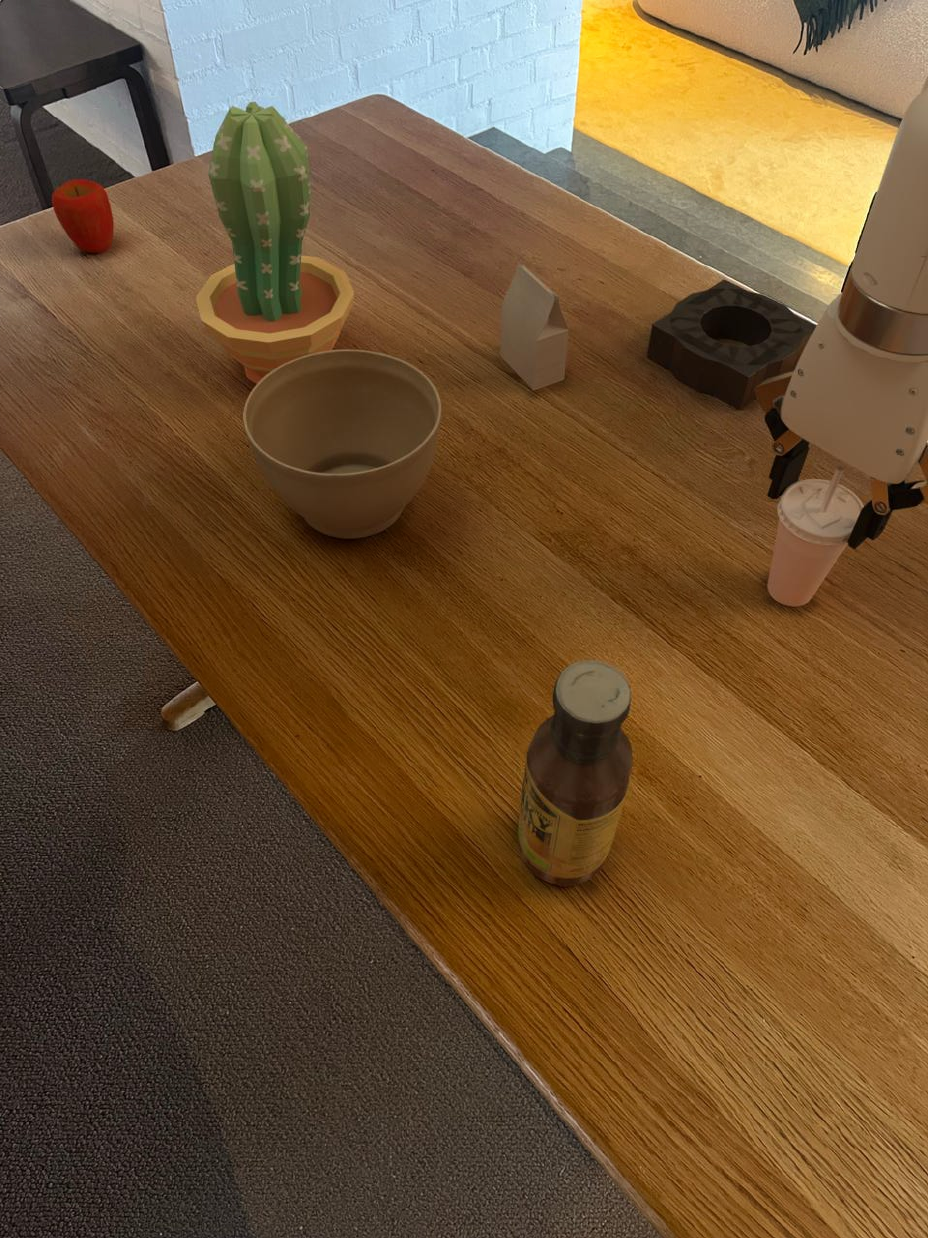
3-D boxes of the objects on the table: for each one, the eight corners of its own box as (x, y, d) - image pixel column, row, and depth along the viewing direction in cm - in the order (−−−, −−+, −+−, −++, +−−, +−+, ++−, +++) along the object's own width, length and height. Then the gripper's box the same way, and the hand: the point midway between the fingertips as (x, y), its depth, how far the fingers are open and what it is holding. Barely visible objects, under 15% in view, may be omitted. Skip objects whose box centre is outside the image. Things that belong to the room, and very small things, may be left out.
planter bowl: (382, 595, 80) (372, 501, 71) (228, 527, 85) (201, 431, 76) (475, 479, 89) (476, 383, 80) (330, 424, 94) (317, 327, 85)
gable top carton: (533, 390, 97) (539, 303, 89) (499, 355, 100) (502, 268, 93) (564, 379, 98) (572, 292, 90) (529, 345, 102) (534, 258, 94)
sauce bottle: (512, 810, 67) (526, 637, 52) (600, 805, 68) (640, 630, 52) (522, 898, 63) (539, 738, 48) (615, 892, 64) (664, 731, 48)
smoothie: (746, 609, 79) (791, 483, 68) (755, 554, 83) (799, 427, 72) (826, 627, 78) (885, 502, 67) (831, 570, 81) (888, 443, 71)
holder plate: (715, 306, 106) (723, 273, 103) (818, 359, 100) (829, 326, 97) (637, 356, 100) (642, 323, 97) (741, 416, 94) (750, 383, 91)
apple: (64, 240, 115) (42, 178, 109) (115, 228, 117) (97, 167, 111) (74, 266, 111) (52, 203, 106) (127, 254, 113) (108, 192, 107)
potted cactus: (388, 343, 102) (370, 96, 82) (308, 428, 93) (267, 174, 74) (267, 305, 106) (223, 62, 87) (181, 383, 98) (110, 132, 78)
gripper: (1067, 342, 57) (949, 549, 71) (818, 231, 65) (756, 437, 79) (1006, 397, 54) (895, 602, 68) (752, 273, 62) (699, 480, 76)
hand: (821, 512), depth 73 cm, fingers closed on smoothie, 6 cm apart
